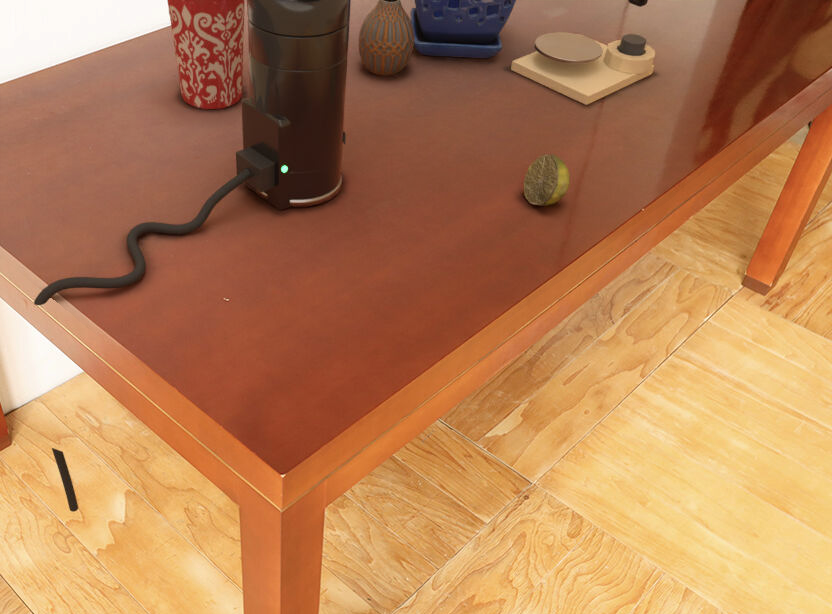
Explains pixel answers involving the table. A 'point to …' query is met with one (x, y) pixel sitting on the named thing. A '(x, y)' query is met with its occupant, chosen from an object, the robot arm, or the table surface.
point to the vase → (386, 38)
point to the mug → (209, 50)
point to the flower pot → (459, 27)
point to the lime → (546, 180)
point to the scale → (587, 72)
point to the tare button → (632, 45)
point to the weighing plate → (568, 47)
